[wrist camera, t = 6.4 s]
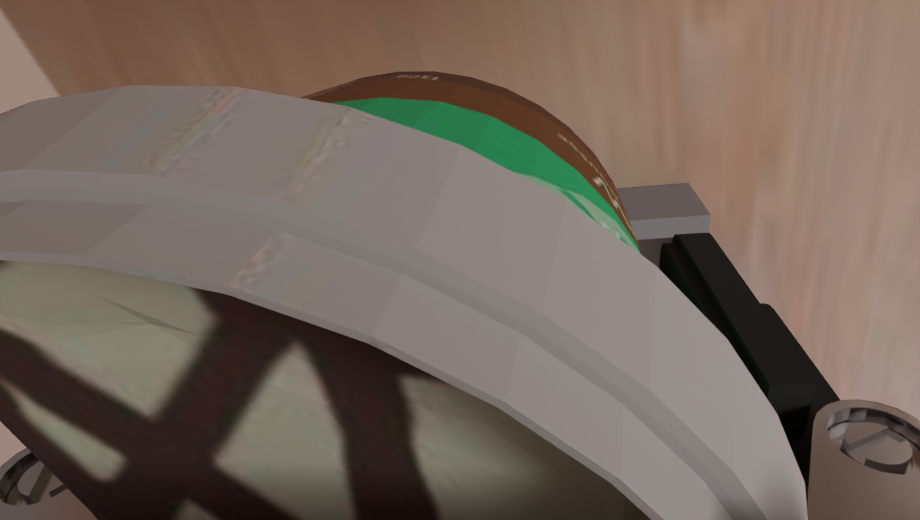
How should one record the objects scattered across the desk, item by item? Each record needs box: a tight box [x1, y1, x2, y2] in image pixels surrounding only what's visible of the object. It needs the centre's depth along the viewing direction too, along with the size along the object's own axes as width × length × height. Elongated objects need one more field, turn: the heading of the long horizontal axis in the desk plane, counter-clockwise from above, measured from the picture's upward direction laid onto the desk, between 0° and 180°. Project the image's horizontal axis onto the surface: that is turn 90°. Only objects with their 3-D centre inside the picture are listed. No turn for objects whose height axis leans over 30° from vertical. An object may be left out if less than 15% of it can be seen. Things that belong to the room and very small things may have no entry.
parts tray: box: [616, 183, 710, 268], centre depth 36 cm, size 16×22×4 cm
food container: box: [0, 72, 808, 520], centre depth 10 cm, size 12×6×10 cm, turn 32°
